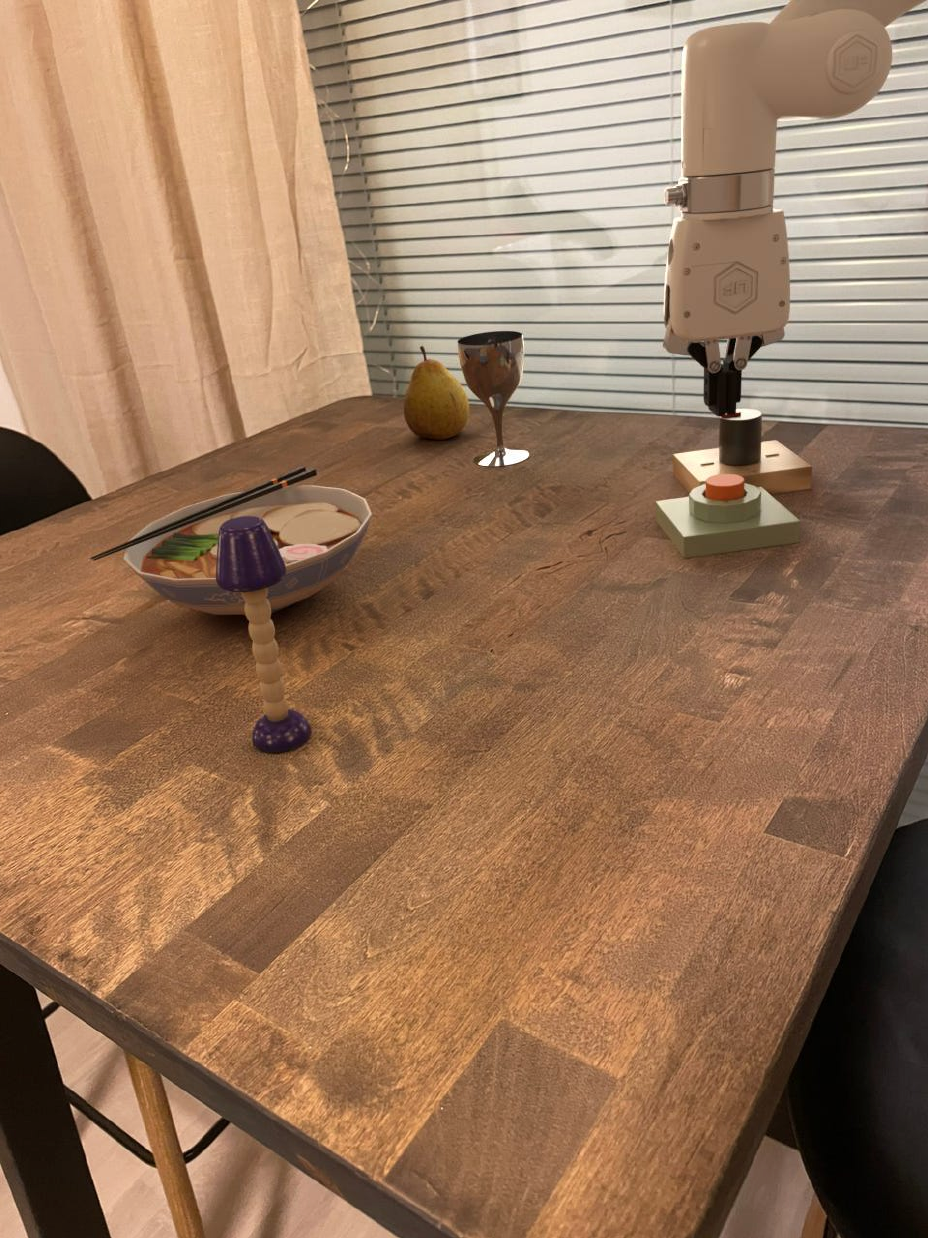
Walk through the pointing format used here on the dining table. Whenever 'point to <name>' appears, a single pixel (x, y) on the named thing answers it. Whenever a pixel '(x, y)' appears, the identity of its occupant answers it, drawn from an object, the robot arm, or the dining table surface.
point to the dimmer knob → (740, 437)
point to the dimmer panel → (747, 469)
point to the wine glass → (494, 383)
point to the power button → (725, 487)
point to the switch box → (726, 522)
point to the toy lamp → (260, 624)
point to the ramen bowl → (297, 519)
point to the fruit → (435, 402)
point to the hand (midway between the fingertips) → (721, 411)
